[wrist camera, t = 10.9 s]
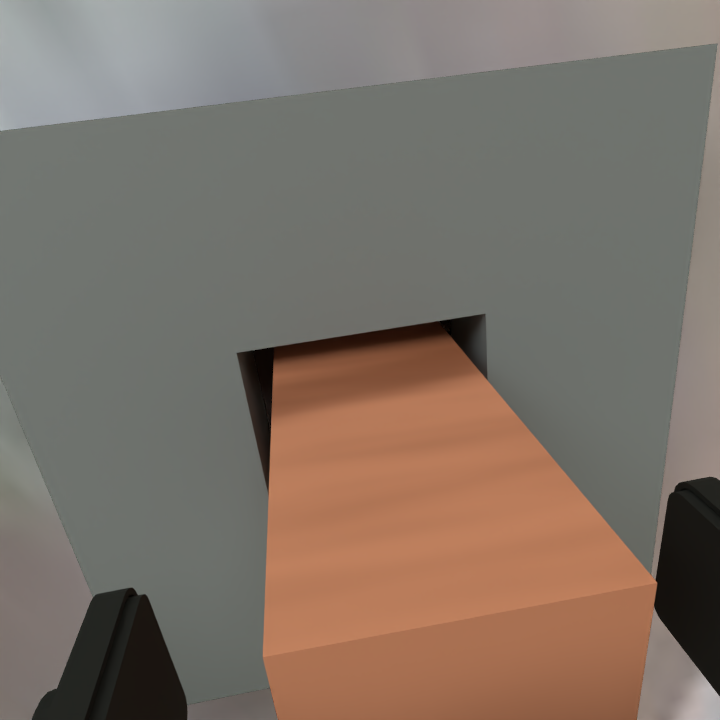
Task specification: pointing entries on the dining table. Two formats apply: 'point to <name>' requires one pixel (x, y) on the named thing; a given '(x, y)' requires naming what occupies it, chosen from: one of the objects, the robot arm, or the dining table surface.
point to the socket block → (338, 300)
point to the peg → (434, 549)
